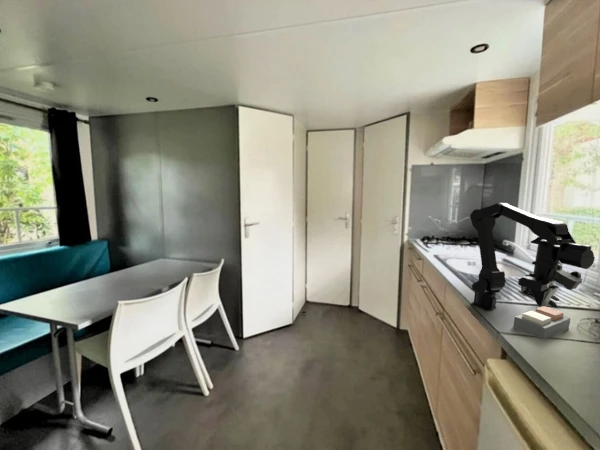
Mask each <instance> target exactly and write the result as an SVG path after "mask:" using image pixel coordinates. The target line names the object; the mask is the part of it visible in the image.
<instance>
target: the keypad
mask: <svg viewBox="0 0 600 450" xmlns="http://www.w3.org/2000/svg"><path fill="white" fill-rule="evenodd" d="M531 311H534V312H536V309H533V310H531ZM522 316H523V313H521V314H518V315H515V316H514V320H513V326H512V327H513V328H514V329H517V330H519V331H521V332H524V333H526V334H529V335H530V336H532V337H536V338H538V339H540V340H542V341H545V340H547V339H549V338H552V337H553V336H554V337H555V335H559V334H561V333H563V332H565V331H567V330H569V328H570V323H571V317H569V316H565V315H563V318H561V319H559V320H556V321H555V320H553V319H551V323H549V324H546V325H544V326H542V325H540V324H537V323H534V322H532V321H529V320H527V319H524V318H522Z"/></svg>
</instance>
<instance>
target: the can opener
mask: <svg viewBox="0 0 600 450" xmlns="http://www.w3.org/2000/svg"><path fill="white" fill-rule="evenodd" d="M520 291H521V292H523V293H524V294H526V295H533V294H532V291H531V289H530V288H526V287H523V286H520ZM551 299H552V300H551ZM555 301H556V302H559V301H560V299H559V298H558V297H557V296H555V295H554V294H553V295H552V297H551V298H550V301H549V303H548V305H551V306H553V307H556V306H558V304H557V303H556V302H555Z"/></svg>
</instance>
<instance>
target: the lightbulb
mask: <svg viewBox="0 0 600 450" xmlns="http://www.w3.org/2000/svg"><path fill="white" fill-rule="evenodd" d="M552 283H554V282H552ZM554 285H555V286H557V285H556V284H555V283H554ZM557 290H558V288H556V289H554V290H552V291H550V293H549V295H548V296H547V298H546V300H545V301H544V303H543V305H542V306H546V307H548V305H549V304H548V303H549V301H550V300H551V297H552V295H554V294H556V292H557ZM542 306H541V307H542Z"/></svg>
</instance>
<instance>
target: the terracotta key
mask: <svg viewBox="0 0 600 450" xmlns="http://www.w3.org/2000/svg"><path fill="white" fill-rule="evenodd" d="M536 312H537V313H540V314H543V315H545V316H548V317H551V319H553V320H555V321H556V320H559V319H561V318H563V316H564V315H565V312H564V311H561V310H557V309H555V308H551V307H548V306H539V307H536Z"/></svg>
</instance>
